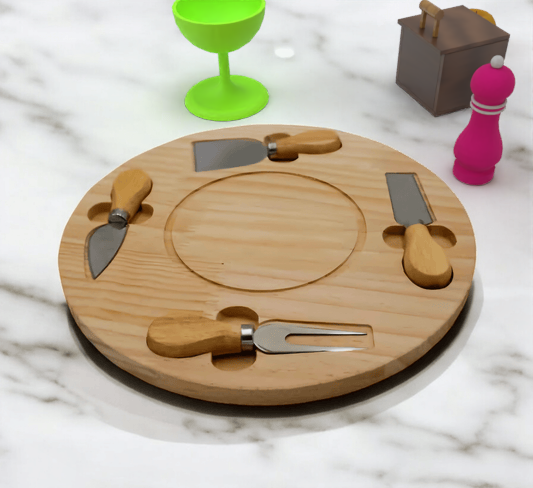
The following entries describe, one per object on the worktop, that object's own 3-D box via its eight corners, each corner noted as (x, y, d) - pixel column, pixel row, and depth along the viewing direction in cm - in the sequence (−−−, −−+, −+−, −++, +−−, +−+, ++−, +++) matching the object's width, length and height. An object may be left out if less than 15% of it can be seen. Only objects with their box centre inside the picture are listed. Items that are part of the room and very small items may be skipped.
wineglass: (271, 118, 117) (268, 21, 105) (182, 123, 117) (169, 27, 105) (266, 75, 129) (263, -17, 117) (186, 80, 129) (174, -12, 116)
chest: (434, 117, 115) (444, 54, 107) (395, 82, 125) (401, 22, 117) (495, 101, 119) (509, 39, 111) (452, 68, 128) (462, 9, 120)
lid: (440, 55, 107) (445, 22, 103) (397, 23, 117) (400, -8, 113) (509, 38, 111) (516, 6, 107) (462, 9, 120) (467, -22, 116)
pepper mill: (488, 193, 99) (517, 73, 86) (442, 179, 102) (464, 61, 89) (502, 168, 104) (532, 50, 90) (458, 155, 107) (481, 40, 93)
